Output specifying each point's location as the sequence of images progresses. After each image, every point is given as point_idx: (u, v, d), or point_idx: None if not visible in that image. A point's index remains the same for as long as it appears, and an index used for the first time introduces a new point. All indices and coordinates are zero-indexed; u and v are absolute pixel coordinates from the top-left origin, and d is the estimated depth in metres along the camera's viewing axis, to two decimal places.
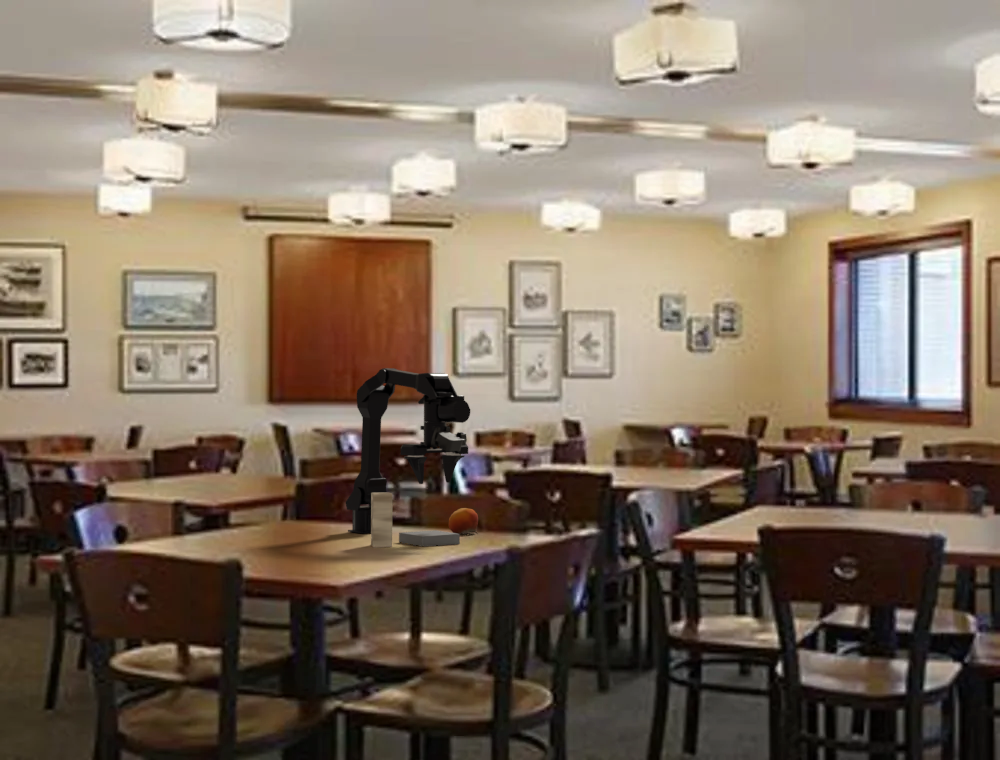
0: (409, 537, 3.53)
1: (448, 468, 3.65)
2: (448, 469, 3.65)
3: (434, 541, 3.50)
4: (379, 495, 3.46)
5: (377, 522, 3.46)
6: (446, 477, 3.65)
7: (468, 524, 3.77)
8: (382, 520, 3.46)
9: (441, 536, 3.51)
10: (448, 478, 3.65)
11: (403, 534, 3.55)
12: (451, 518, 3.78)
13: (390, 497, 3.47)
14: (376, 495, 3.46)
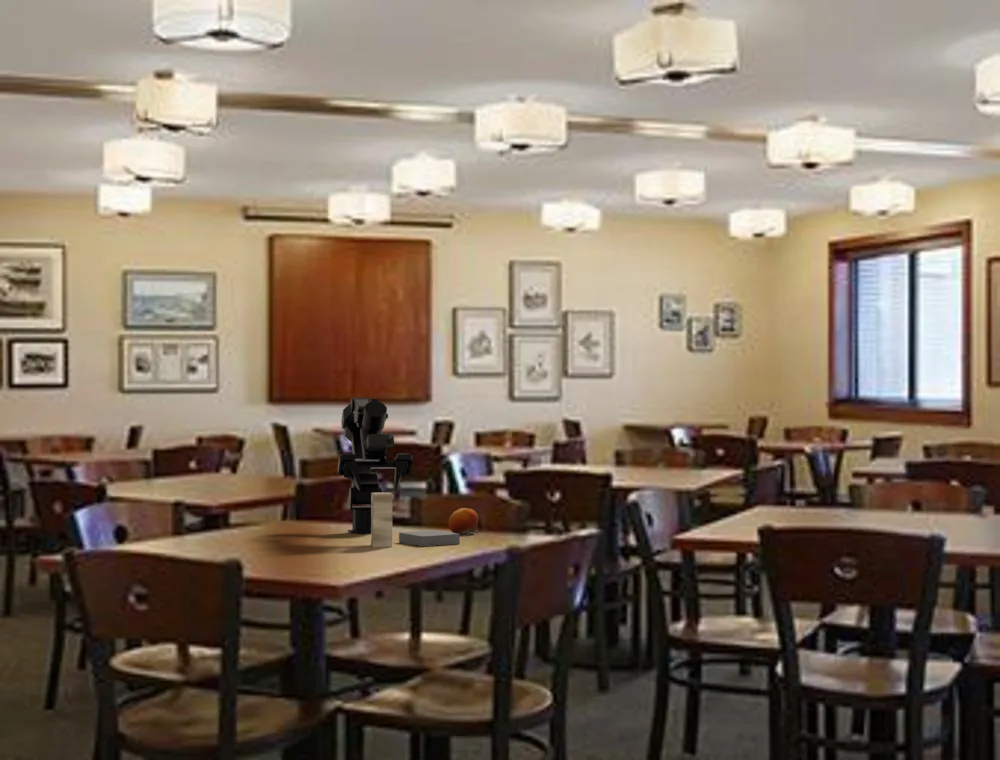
0: (409, 537, 3.53)
1: (395, 478, 3.60)
2: (395, 479, 3.60)
3: (434, 541, 3.50)
4: (379, 495, 3.46)
5: (377, 522, 3.46)
6: None
7: (468, 524, 3.77)
8: (382, 520, 3.46)
9: (441, 536, 3.51)
10: (395, 485, 3.58)
11: (403, 534, 3.55)
12: (451, 518, 3.78)
13: (390, 497, 3.47)
14: (376, 495, 3.46)
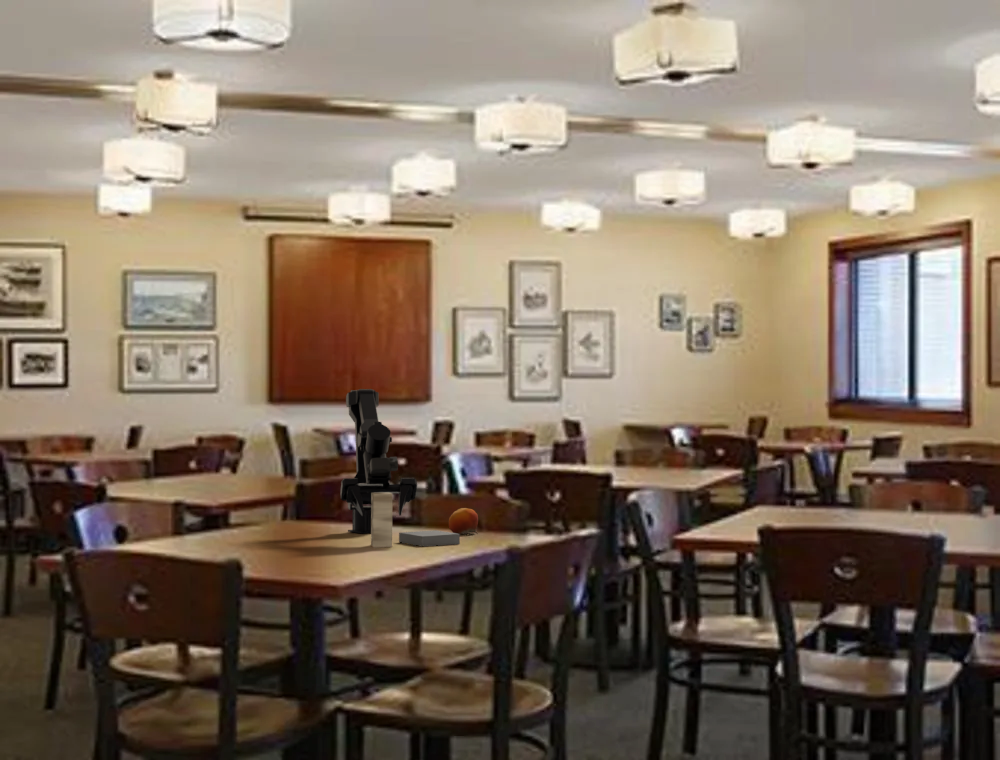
0: (409, 537, 3.53)
1: (399, 503, 3.52)
2: (399, 503, 3.52)
3: (434, 541, 3.50)
4: (379, 495, 3.46)
5: (377, 522, 3.46)
6: None
7: (468, 524, 3.77)
8: (382, 520, 3.46)
9: (441, 536, 3.51)
10: (399, 510, 3.50)
11: (403, 534, 3.55)
12: (451, 518, 3.78)
13: (390, 497, 3.47)
14: (376, 495, 3.46)
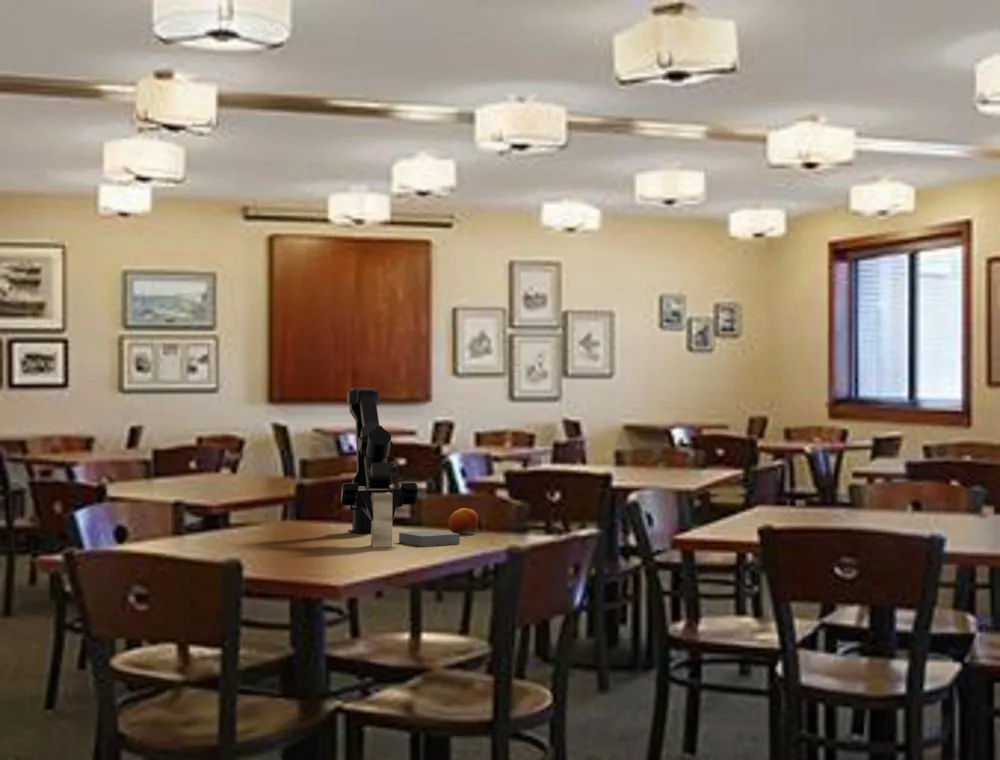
0: (409, 537, 3.53)
1: None
2: None
3: (434, 541, 3.50)
4: (379, 495, 3.46)
5: (377, 522, 3.46)
6: None
7: (468, 524, 3.77)
8: (382, 519, 3.46)
9: (441, 536, 3.51)
10: None
11: (403, 534, 3.55)
12: (451, 518, 3.78)
13: (390, 497, 3.47)
14: (376, 495, 3.46)
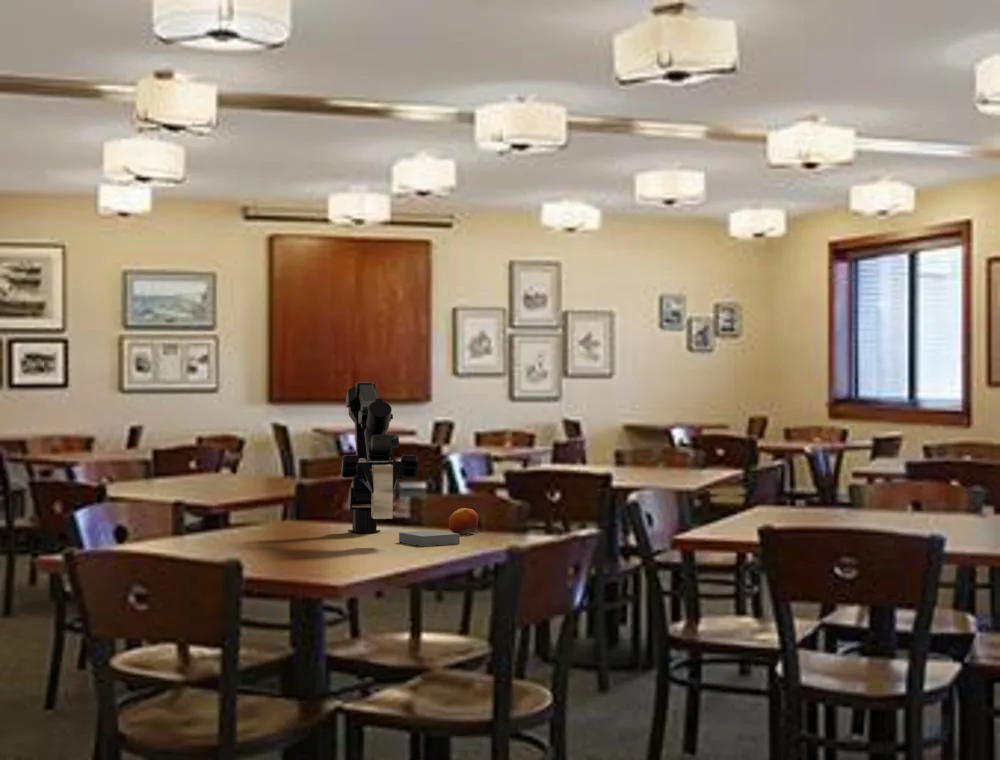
0: (409, 537, 3.53)
1: None
2: None
3: (434, 541, 3.50)
4: (379, 467, 3.46)
5: (378, 493, 3.46)
6: None
7: (468, 524, 3.77)
8: (382, 491, 3.46)
9: (441, 536, 3.51)
10: None
11: (403, 534, 3.55)
12: (451, 518, 3.78)
13: (390, 469, 3.47)
14: (376, 467, 3.46)
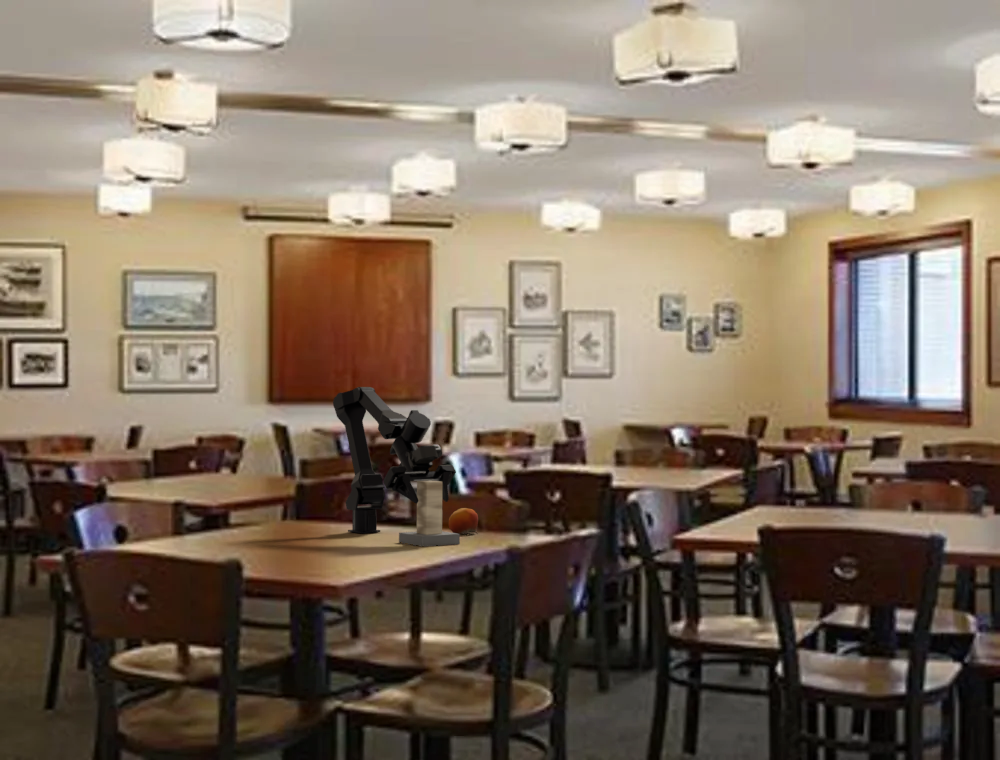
0: (409, 537, 3.53)
1: (442, 490, 3.59)
2: (442, 490, 3.59)
3: (434, 541, 3.50)
4: (431, 483, 3.53)
5: (430, 509, 3.53)
6: (444, 498, 3.58)
7: (468, 524, 3.77)
8: (433, 507, 3.53)
9: (441, 536, 3.51)
10: (445, 496, 3.57)
11: (403, 534, 3.55)
12: (451, 518, 3.78)
13: (440, 485, 3.55)
14: (429, 483, 3.53)
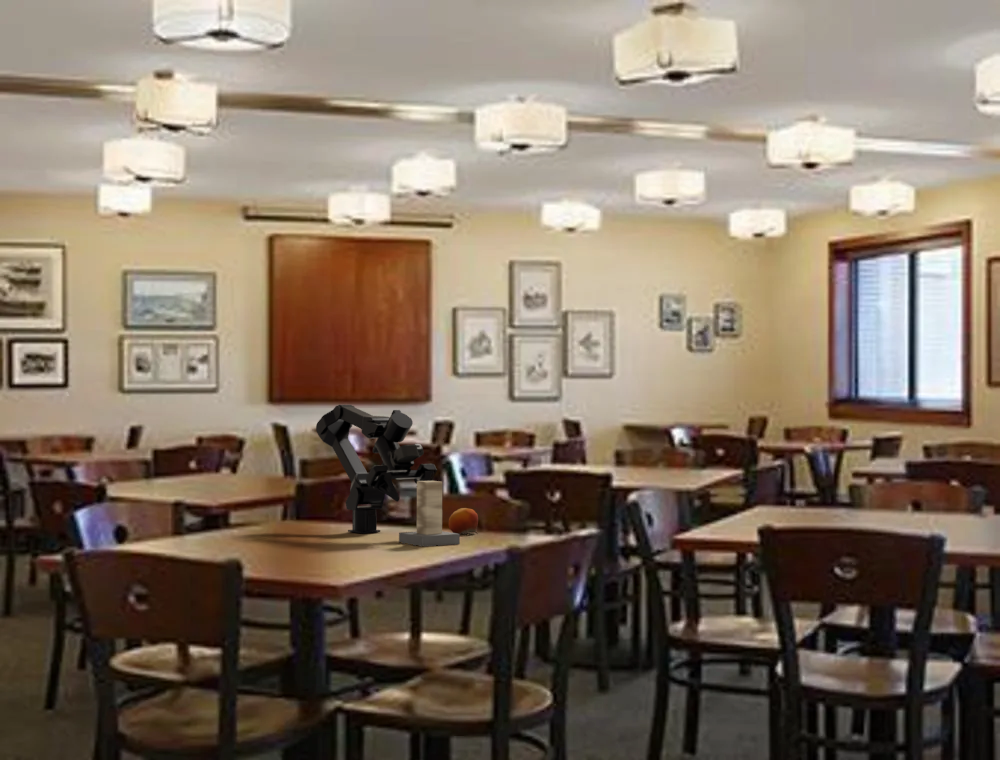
0: (409, 537, 3.53)
1: None
2: None
3: (434, 541, 3.50)
4: (431, 483, 3.53)
5: (430, 509, 3.53)
6: None
7: (468, 524, 3.77)
8: (433, 507, 3.54)
9: (441, 536, 3.51)
10: None
11: (403, 534, 3.55)
12: (451, 518, 3.78)
13: (440, 485, 3.55)
14: (429, 483, 3.53)
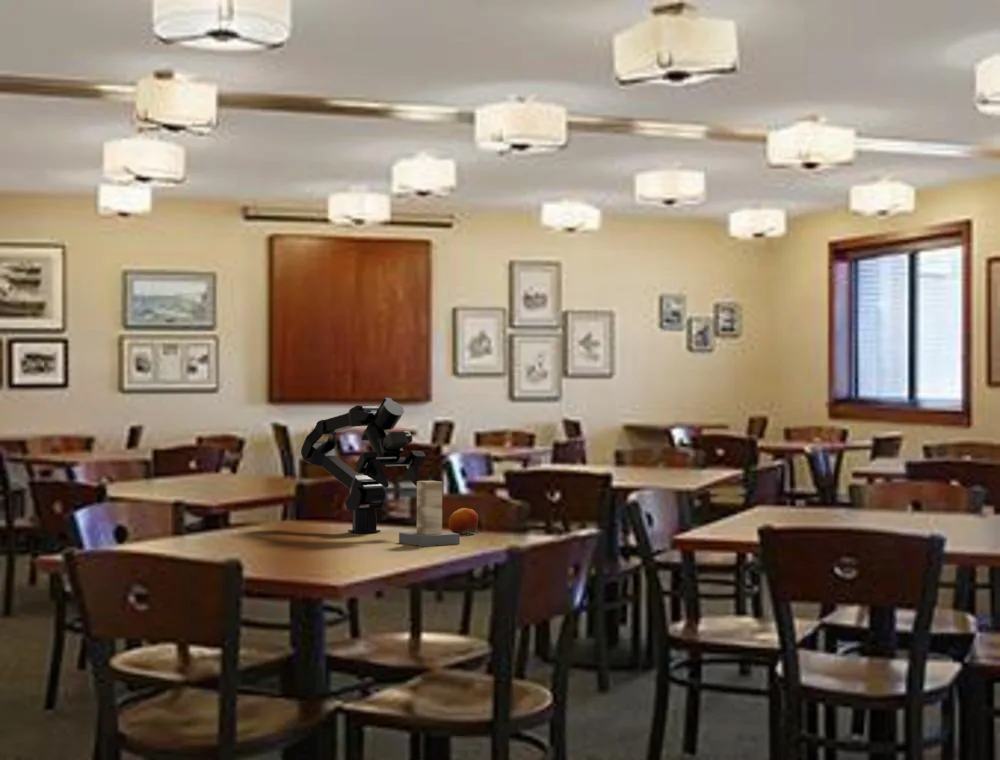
0: (409, 537, 3.53)
1: (413, 475, 3.72)
2: (413, 475, 3.72)
3: (434, 541, 3.50)
4: (431, 483, 3.53)
5: (430, 509, 3.53)
6: (414, 482, 3.71)
7: (468, 524, 3.77)
8: (433, 507, 3.54)
9: (441, 536, 3.51)
10: (416, 481, 3.70)
11: (403, 534, 3.55)
12: (451, 518, 3.78)
13: (440, 485, 3.55)
14: (429, 483, 3.53)
